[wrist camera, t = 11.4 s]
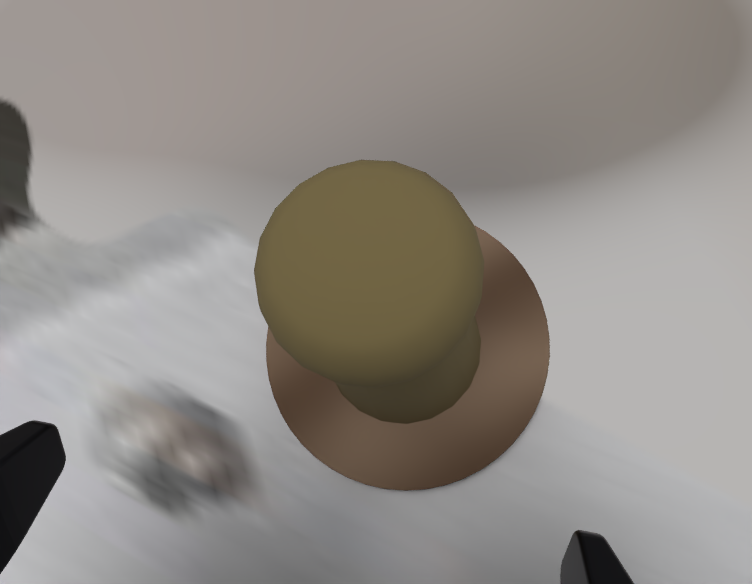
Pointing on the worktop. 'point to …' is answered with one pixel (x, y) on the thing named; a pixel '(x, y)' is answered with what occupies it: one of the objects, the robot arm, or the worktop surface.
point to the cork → (376, 287)
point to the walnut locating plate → (448, 429)
